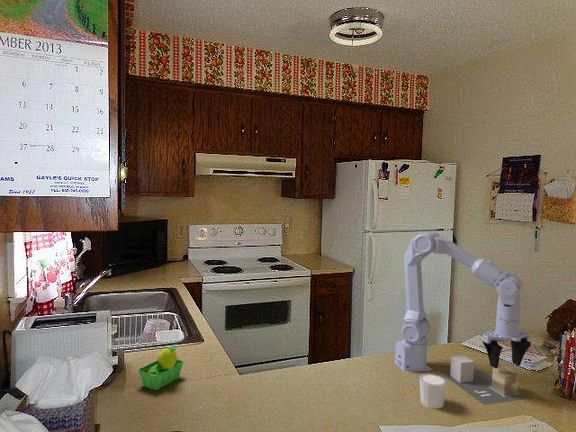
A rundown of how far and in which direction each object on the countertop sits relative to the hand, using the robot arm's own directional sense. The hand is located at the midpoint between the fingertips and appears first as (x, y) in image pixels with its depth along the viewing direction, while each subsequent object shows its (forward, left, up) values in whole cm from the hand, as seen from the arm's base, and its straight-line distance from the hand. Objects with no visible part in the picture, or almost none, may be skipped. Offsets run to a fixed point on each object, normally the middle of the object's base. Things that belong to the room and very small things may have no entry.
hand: (505, 365), depth 111 cm
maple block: (0, 0, -7) cm, 7 cm away
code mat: (-4, +4, -8) cm, 10 cm away
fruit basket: (-94, +27, -8) cm, 98 cm away
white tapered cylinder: (-24, -1, -8) cm, 25 cm away
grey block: (-7, +9, -7) cm, 14 cm away
